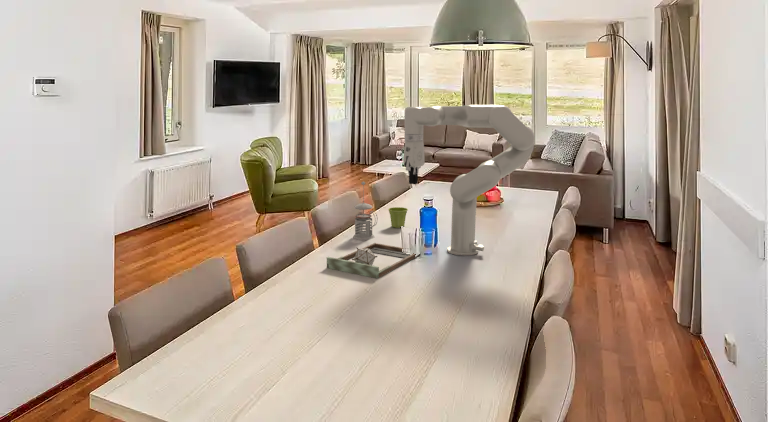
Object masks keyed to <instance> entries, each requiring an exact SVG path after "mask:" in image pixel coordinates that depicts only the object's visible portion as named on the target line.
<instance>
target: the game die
mask: <svg viewBox="0 0 768 422" xmlns="http://www.w3.org/2000/svg"><path fill="white" fill-rule="evenodd" d="M368 246H369V245H368ZM363 248H364V247H363ZM356 251H357V252H356V255H355V257H353V258H351V261H353V262H357V263H362V264H367V265H372V266H373V264H374V262H375V259H376V258H378V255H375V253H372V251H371V250H370V246H369V248H364V249H362V248H359V247H356Z"/></svg>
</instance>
